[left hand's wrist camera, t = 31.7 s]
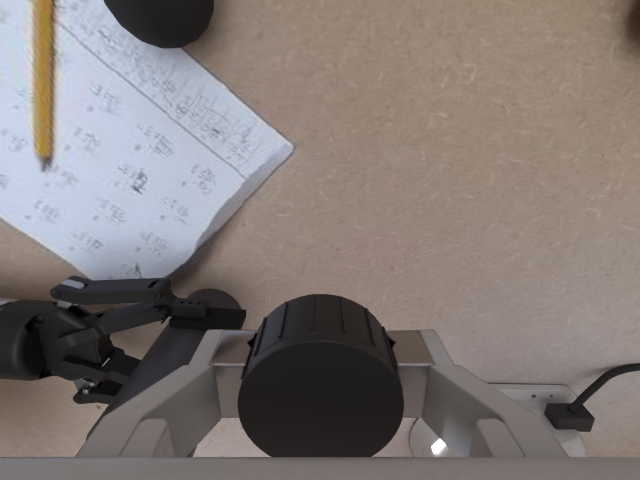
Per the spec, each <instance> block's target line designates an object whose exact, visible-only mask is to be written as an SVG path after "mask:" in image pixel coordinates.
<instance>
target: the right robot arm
mask: <svg viewBox="0 0 640 480" xmlns="http://www.w3.org/2000/svg"><path fill="white" fill-rule="evenodd" d="M170 287H171V282H170V281H169V280H168V279H167V278H150V279H124V280H99V281H92V280H89V279H85V278H81V277H77V276H71V277H69V278H68V279H66V280H65V281H63V282H61V283H60V284H58V285H57V286H55V287H54V288H52V289H51V290H50V294H51V296H52V297H53V298H55V299H57V302H53V301H40V300H18V299H10V298H0V379H13V380H27V381H33V380H38V379H42V378H46V377H50V376H59V377H62V378H64V379H66V380H70V381H73V382H74V384H75V386H76V388H77V390H78V392H77V393H76V394H75V396H74V397H73V400H74V401H75V402H76V403H78V404H85V403H95V402H98V403H104V404H110V403H111V401H112V400H113V399H114V397H115V396H116V394H117V393H118V392H119V390H120V389H121V388H122V386H123V385H124V384H125V382H126V381H127V379H128V378H129V377H130V375H131V374H132V373H133V371H134V370H135V368H136V367H137V366H138V364H139V363H140V362H141V360H139V359H136V358H133V357H131V356H128V355H126V354H125V353H124V350H122V349H120V348H117V347H115V346H113V344H112V342H111V340H110V333H114V332H118V331H121V330H125V329H129V328H133V327H137V326H141V325H144V324H148V323H152V322H156V321H161V320H163V321H162V322H161V324H162V323H164V321H165V320H166V319H167V318H168V316H169V317H171V319H170V320H169V324H170V327H172V328H186V329H199V330H241V328H242V326H243V323H244V320H245V318H246V310H241V309H228V308H215V307H210V302H208V301H206V300H197V299H195V300H194V299H184V298H178V297H176V296H175V295H173V293H172V291H171V289H170ZM139 302H143V303H139ZM112 303H139V304H135V305H132V306H128V307H124V308H120V309H117V310H114V309H110V310H106V311H102V312H98V313H95V314H93V313H91V312H89V311H87V310H86V309H84V308H82V307H81V306H79V305H78V304H85V305H86V304H112ZM108 358H110V359H109V361H108V362H107V363H106V364H105V365H104V366H102V365H103V364H104V363H105V362H106V360H107V359H108Z"/></svg>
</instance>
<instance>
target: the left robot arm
mask: <svg viewBox="0 0 640 480" xmlns="http://www.w3.org/2000/svg"><path fill="white" fill-rule="evenodd" d="M257 332H258V331H257V330H208V331H206V333H205V335H204V337H203V338H202V340H201V342H200V344H199V346H198V348H197V350H196V352H195V354H194V355H193V357H192V359H191V361H190V363H189V365H183V366H181V367H180V368H178V369H177V370H175V371H174V372H172V373H171V374H169V375H167V376H166V377H164V378H163V379H161V380H160V381H158V382H157V383H155V384H154V385H152V386H150V387H149V388H147V389H146V390H144V391H143V392H141V393H140V394H138V395H137V396H135V397H133V398H132V399H130V400H129V401H127V402H126V403H124V404H123V405H121V406H119V407H118V408H116V409H115V410H113V411H112V412H110V413H109V414H107V415H106V416H104V417H103V418H102V420H101V421H100V422H99V424H98V425H97V426H96V428H95V429H94V431H93V432H92V433H91V435H90V436H89V438H88V439H87V440H86V442H85V443H84V445H83V446H82V447H81V449H80V450H79V451H78V453H77V454H76V456H75V457H0V480H640V457H588V455H587V450H586V446H585V443H584V441H583V438H582V436H581V434H582V432H590V431H591V428H592V425H593V423H594V420H595V418H594V417H593V416H592V415H591V414H590V412H589V411H588V410H587V409H586V408H585V407H584V406H583V405H582V404H583V403H584V402H585V401H586V400H587V399H588V398H589V397H590V396H591V395H593V394H594V393H595V392H596V391H597V390H598V389H599V388H600V387H602V386H603V385H604V384H605V383H606V382H607V381H608V380H610V379H611V378H613V377H615V376H617V375H620V374H623V373H627V372H632V371H639V370H640V364H632V365H625V366H621V367H618V368H615V369H612V370H610V371H608V372H606V373H604V374H603V375H602V376H600V377H599V378H598V379H597V380H596V381H595V382H594V383H593V384H591V385H590V386H589V387H588V388H587V389H586V390H585V391H584V392H583V393H582V394H581V395H580V396H579V397H578V398H577V396H576V395H575V394H574V392H573V391H572V390H571V389H570V388H569V387H568V386H565V385H531V384H488V383H486V382H485V381H483V380H482V379H480V378H479V377H477V376H476V375H474V374H472V373H471V372H469V371H468V370H466V369H465V368H463V367H462V366H460V365H454V363H453V361H452V359H451V358H450V356H449V354H448V352H447V350H446V348H445V347H444V345H443V343H442V341H441V339H440V338H439V336H438V334H437V332H436V331H435V330H434V329H429V330H402V331H386V334H387V337H388V341H389V344H390V347H391V351H392V354H393V357H394V361H395V364H396V366H395V368H396V371H397V375H398V378H399V382H401V385H402V388H403V391H402V392H403V397H404V412H403V417H408V418H419V419H418V420H417V421H416V423H415V424H414V426H413V428H412V430H411V434H410V448H411V451H412V453H413V455H414V457H186V456H187V455H188V454H189V453H190V452H191V451H192V450H193V449H194V448H195V447H196V446H197V445H198V443H199V442H200V441H201V440H202V439H203V438H204V437H205V436H206V435H207V434H208V433H209V432H210V431H211V429H212V428H213V427H214V426H215V425H216V424H217V423H218V422H219V421H220V420H221V419H220V418H234V417H239V414H238V405H237V402H238V394H239V390H240V386H241V383H242V379H240V378H241V375H242V371H244V372H245V370H246V367H247V364H248V361H249V357H250V354H251V346H253V344H254V341H255V338H256V334H257Z"/></svg>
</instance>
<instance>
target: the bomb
mask: <svg viewBox="0 0 640 480" xmlns="http://www.w3.org/2000/svg"><path fill="white" fill-rule="evenodd" d="M104 2H105V4H106V6H107V7H108V8H109V10H110V11H111V13H112V14H113V15H114V17H115V18H116V19H117V21H118V22H119V23H120V25H121V26H122V27H124V28H125V29H126V30H127V31H129V32H130V33H131V34H133V35H134V36H135V37H137V38H138V39H139V40H141V41H142V42H145V43H148V44H151V45H154V46H157V47H160V48H181V47H183V46H185V45H187V44H189V43H191V42H193V41H195V40H197V39H198V38H199V37H200V36H201V35H202V33H203V32H204V31H205V30H206V29H207V27H208V25H209V22H210V19H211V16H212V14H213V11H214V0H104Z"/></svg>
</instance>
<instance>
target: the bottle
mask: <svg viewBox="0 0 640 480" xmlns="http://www.w3.org/2000/svg"><path fill="white" fill-rule="evenodd" d="M187 299H194V300H195V299H197V300H206V301H208V302H210V307H215V308H228V309H241V308H240V306H239V304H238V303H237V302H236V300H235V299H234V298H233V297H231V296H230V295H228V294H227V293H225V292H223V291H220V290H215V289H203V290H199V291H196V292H194V293H192V294H191V295H190V296H188V298H187ZM206 331H208V330H199V329H186V328H172V327H170V324H169V323H168V325H167V326H166V327H165V329H164V330H163V331H162V333H161V334H160V336H159V337H158V338H157V340H156V341H155V342H154V344H153V345H152V346H151V348H150V349H149V351H148V352H147V353H146V355H145V356H144V357H143V359H142V360H141V362H140V363H139V364H138V366H137V367H136V368H135V370H134V371H133V373H132V374H131V375H130V377H129V378H128V379H127V381H126V382H125V384H124V385H123V386H122V388H121V389H120V390H119V392H118V393H117V394H116V396H115V397H114V399H113V400H112V401H111V403H110V404H109V405H108V407H107V408H106V410H105V411H104V412H103V414H102V415H101V416H100V418H99V419H98V421H97V422H96V423H95V425H94V426H93V427H92V429H91V430H90V432H89V433H88V435H87V438H86V440H87V439H88V438H89V436H90V435H91V433H92V432H93V431H94V429H95V428H96V426H97V425H98V424H99V422H100V421H101V420H102V418H103V417H104V416H106V415H107V414H109V413H110V412H112V411H113V410H115V409H116V408H118V407H119V406H121V405H123V404H124V403H126V402H127V401H129V400H130V399H132V398H133V397H135V396H137V395H138V394H140V393H141V392H143V391H144V390H146V389H147V388H149V387H150V386H152V385H154V384H155V383H157V382H158V381H160V380H161V379H163V378H164V377H166V376H167V375H169V374H171V373H172V372H174V371H175V370H177V369H178V368H180V367H181V366H183V365H189V363H190V361H191V359H192V357H193V355H194V354H195V352H196V350H197V348H198V346H199V344H200V342H201V340H202V338H203V337H204V335H205V333H206ZM196 447H197V446H196ZM196 447H195V448H194V449H193V450H192V451H191V452H190V453H189V454H188V455H187V456H186V457H193V455H194V452H195V450H196Z"/></svg>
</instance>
